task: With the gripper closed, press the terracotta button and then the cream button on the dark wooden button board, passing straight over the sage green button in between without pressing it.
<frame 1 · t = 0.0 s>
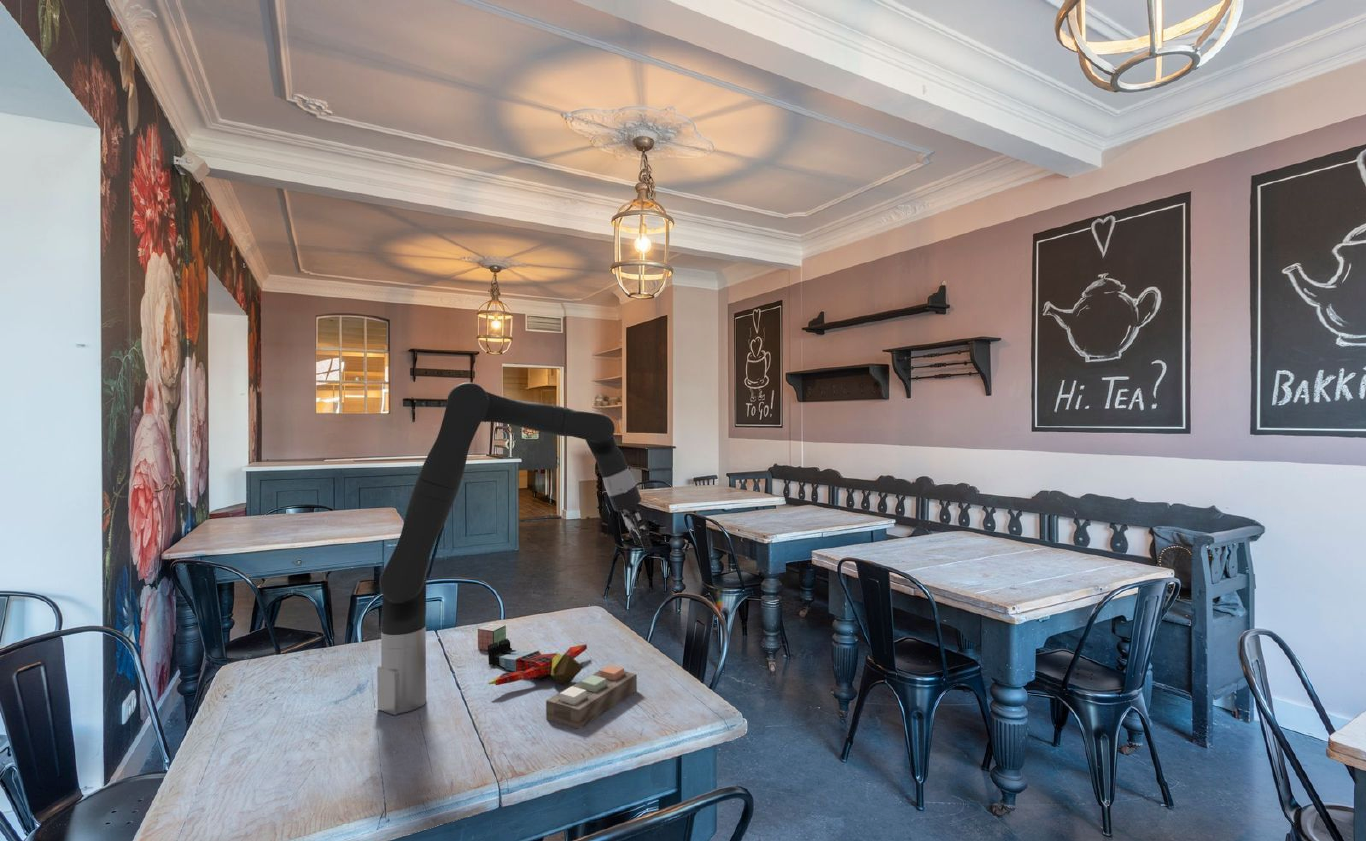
hand: (644, 546, 161), 31 cm above the table, tool tilted 20°, fingers open, 8 cm apart
toy: (534, 674, 159), on the table
sage button: (593, 686, 141), point 4 cm above the table, slide at 0.0 cm
button board: (593, 704, 141), on the table
cream button: (573, 698, 135), point 4 cm above the table, slide at 0.0 cm
terracotta button: (612, 675, 147), point 4 cm above the table, slide at 0.0 cm
puzzle toy: (492, 647, 179), on the table
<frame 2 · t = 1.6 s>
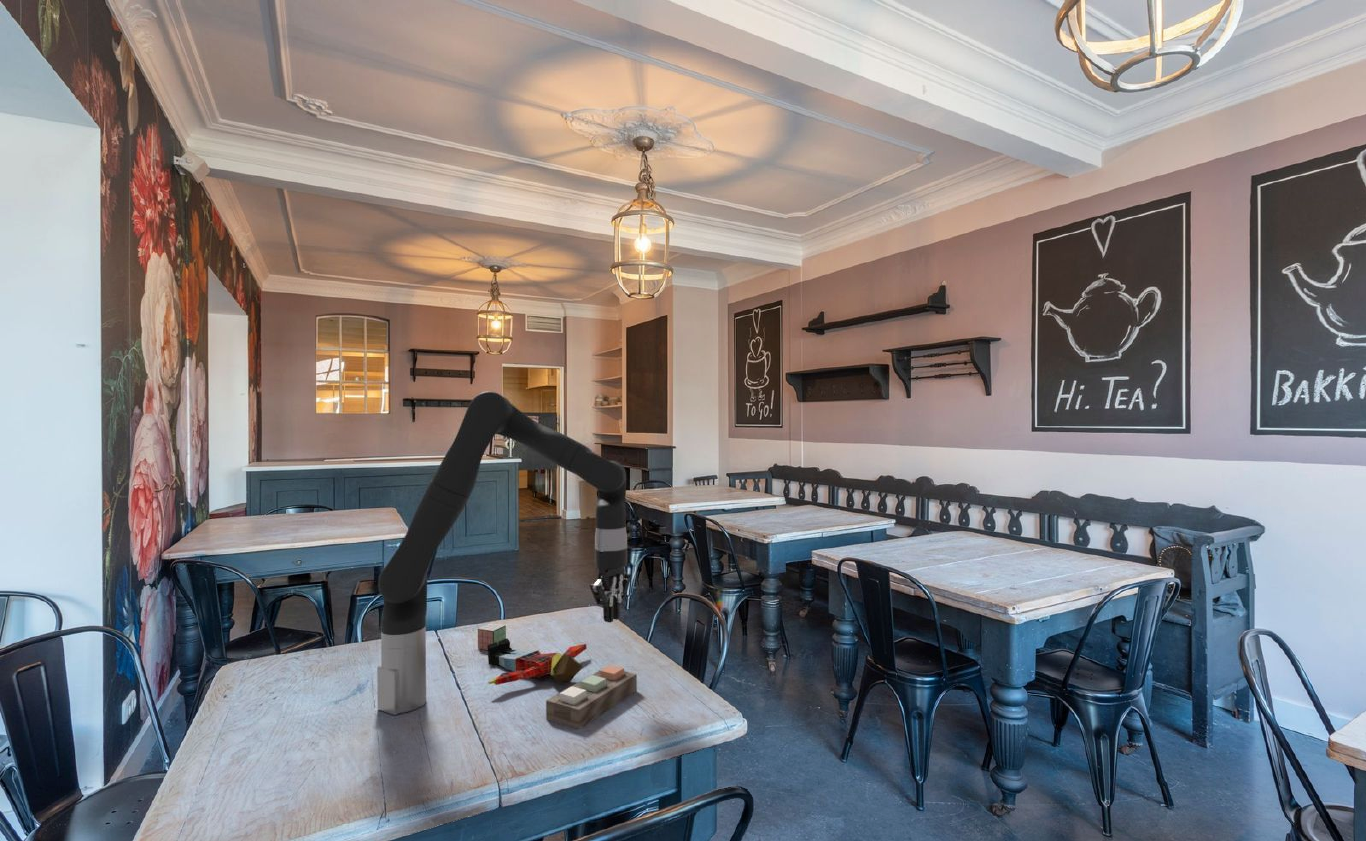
hand: (611, 619, 147), 17 cm above the table, tool pointing down, fingers closed
nothing on the table moved.
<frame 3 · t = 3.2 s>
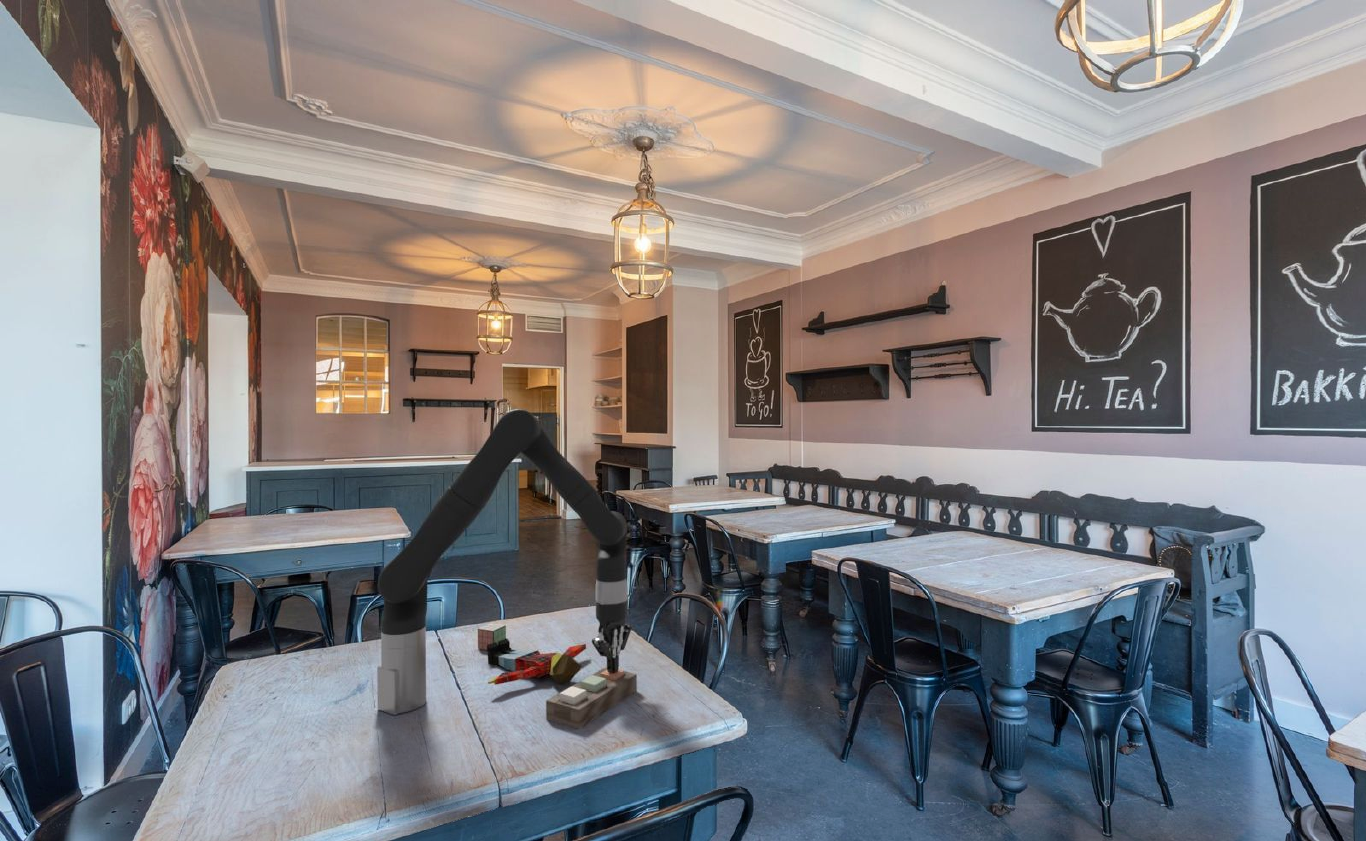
hand: (612, 671, 147), 5 cm above the table, tool pointing down, fingers closed
terracotta button: (612, 678, 147), point 3 cm above the table, slide at -0.7 cm, touching gripper
everything else where it was.
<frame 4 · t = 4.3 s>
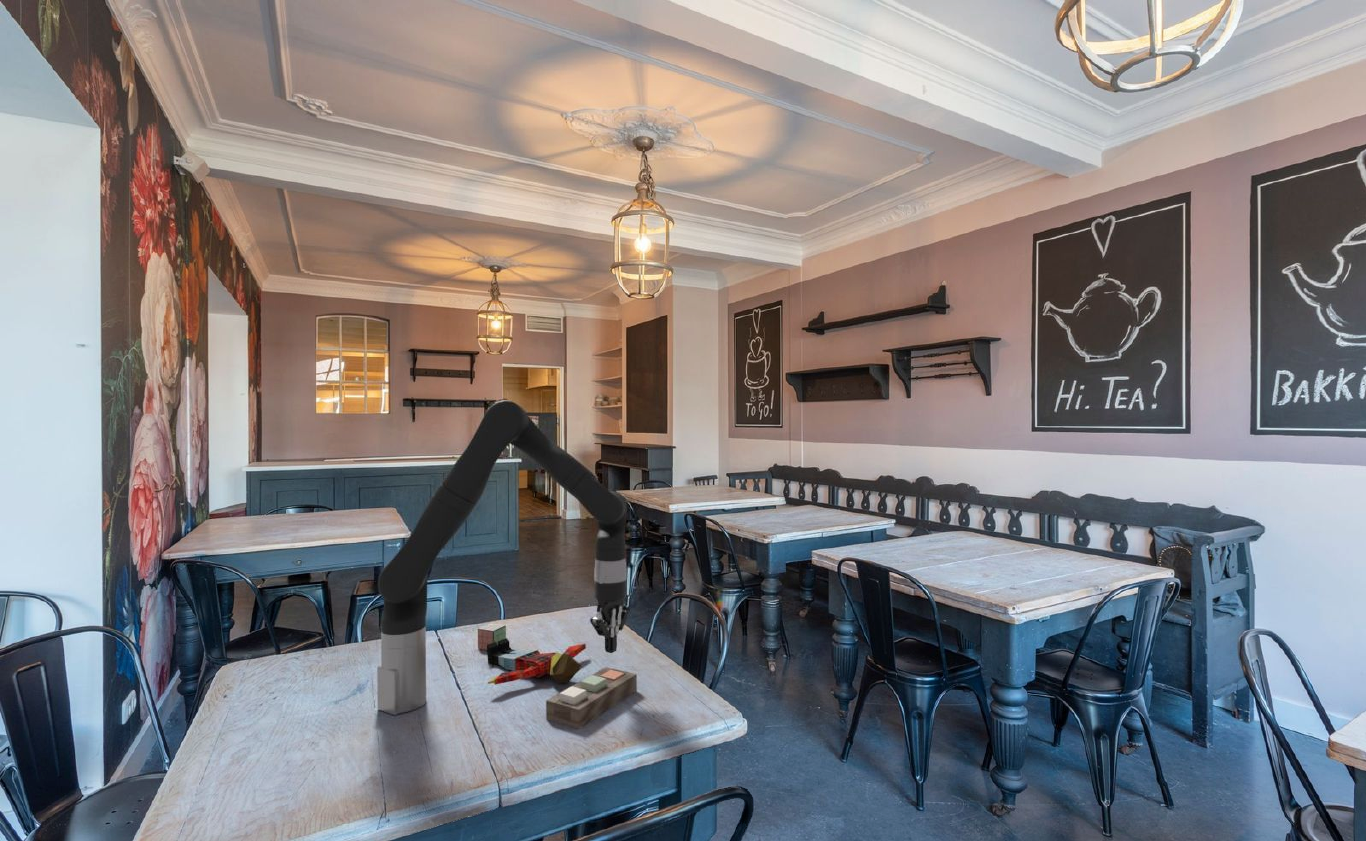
hand: (610, 651, 147), 10 cm above the table, tool pointing down, fingers closed
terracotta button: (612, 680, 147), point 3 cm above the table, slide at -1.2 cm
everything else where it was.
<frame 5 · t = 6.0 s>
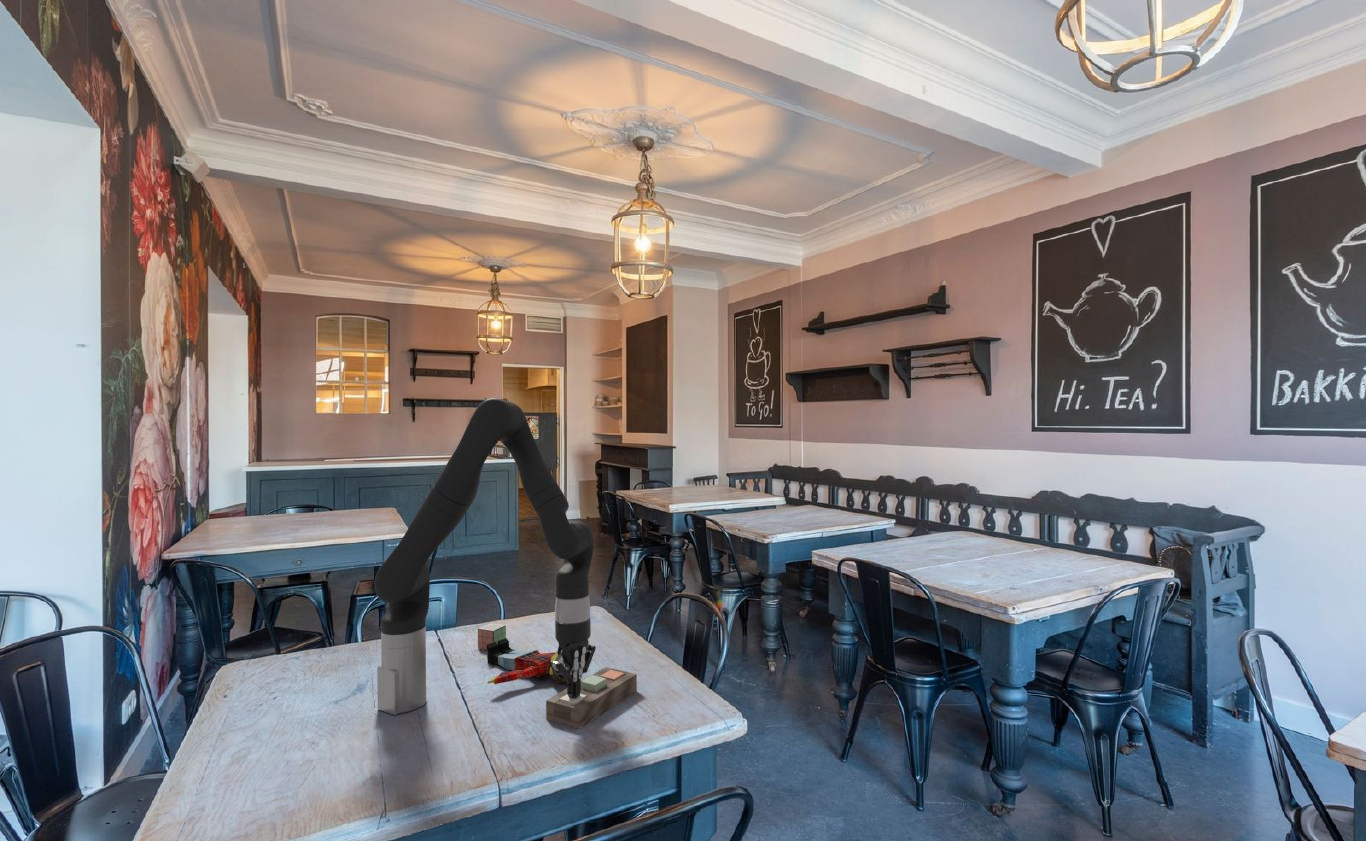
hand: (574, 696, 135), 4 cm above the table, tool pointing down, fingers closed
cream button: (573, 703, 135), point 3 cm above the table, slide at -1.2 cm, touching gripper
everything else where it was.
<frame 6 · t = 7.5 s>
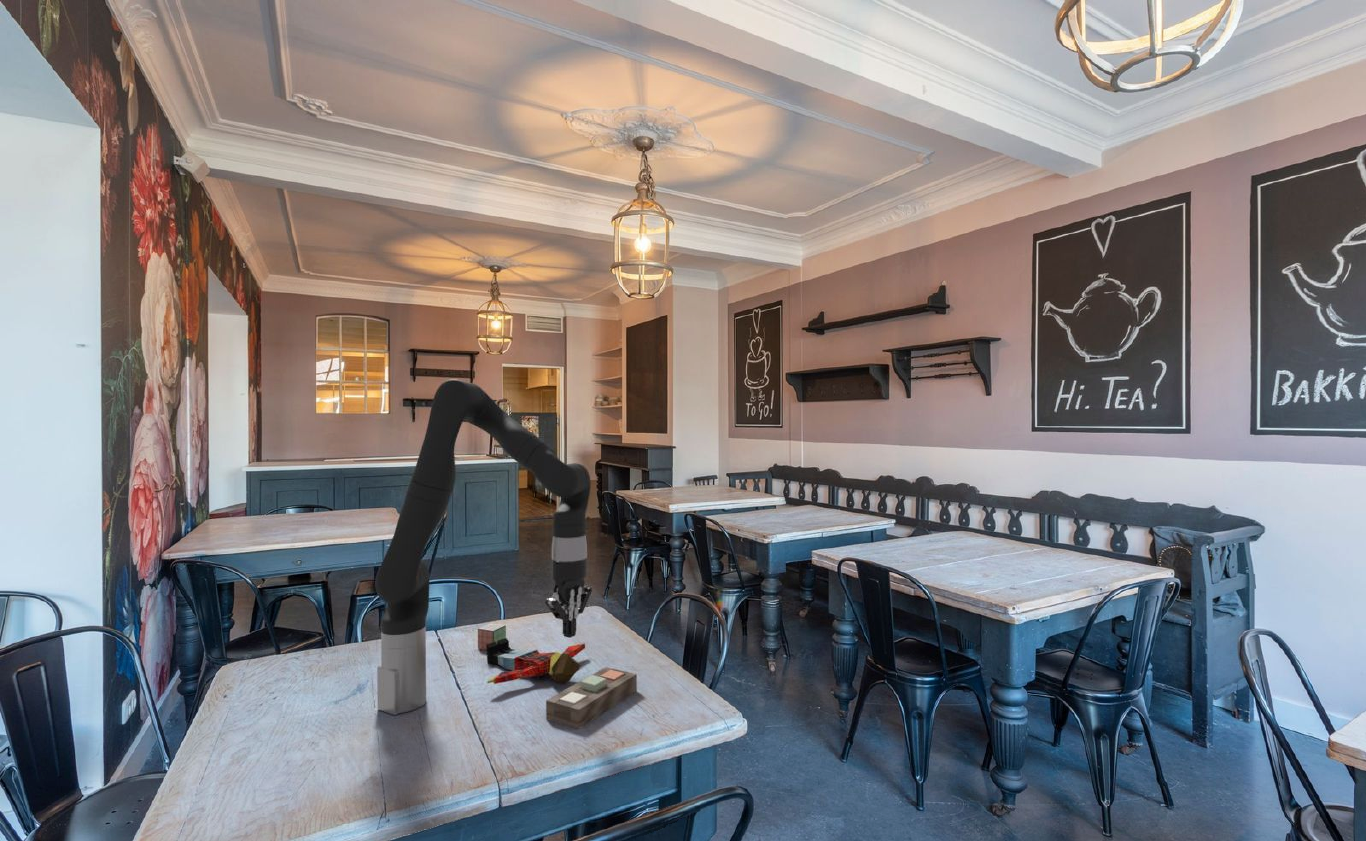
hand: (569, 636, 136), 17 cm above the table, tool pointing down, fingers closed
cream button: (573, 704, 135), point 3 cm above the table, slide at -1.2 cm
everything else where it was.
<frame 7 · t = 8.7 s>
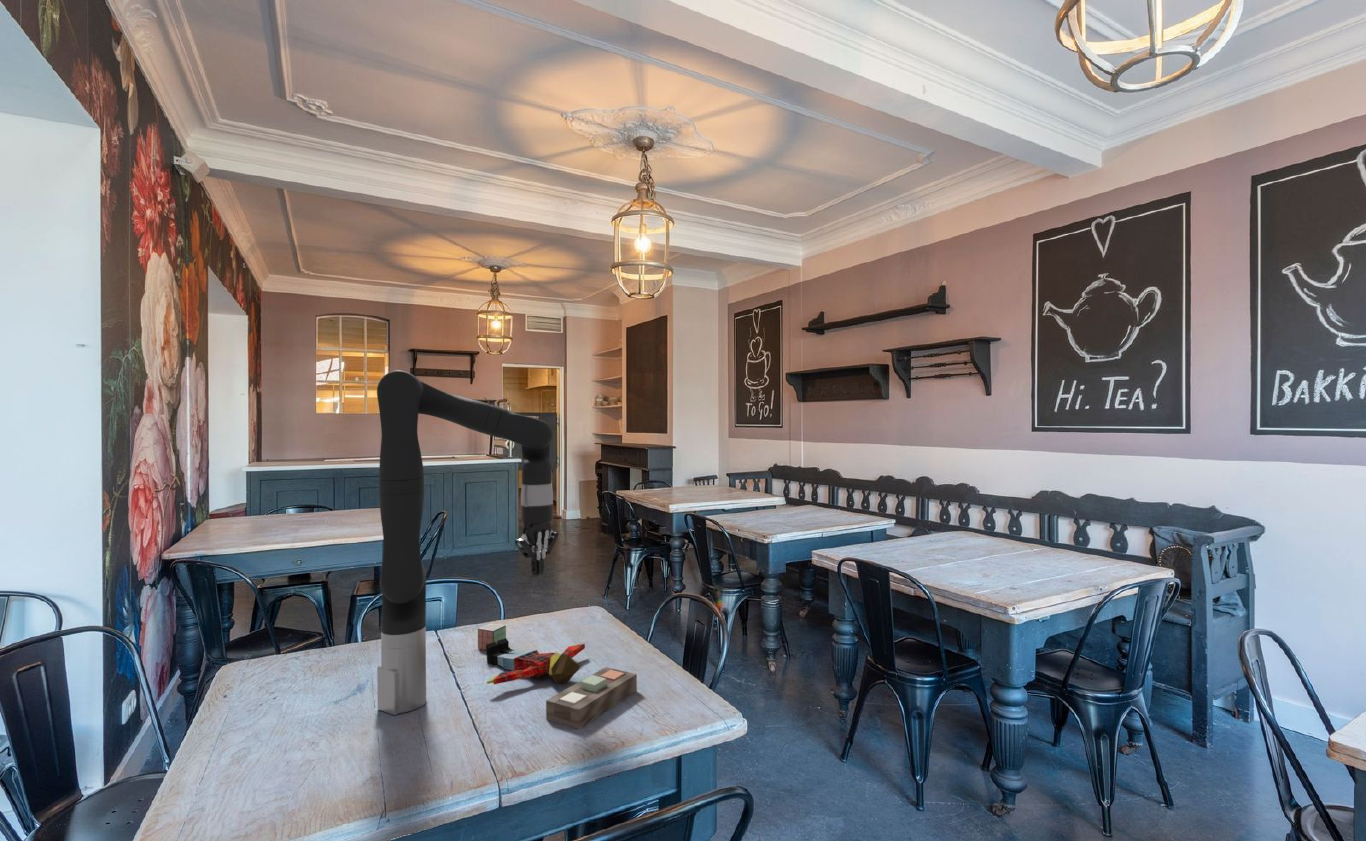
hand: (537, 574, 151), 27 cm above the table, tool pointing down, fingers closed
nothing on the table moved.
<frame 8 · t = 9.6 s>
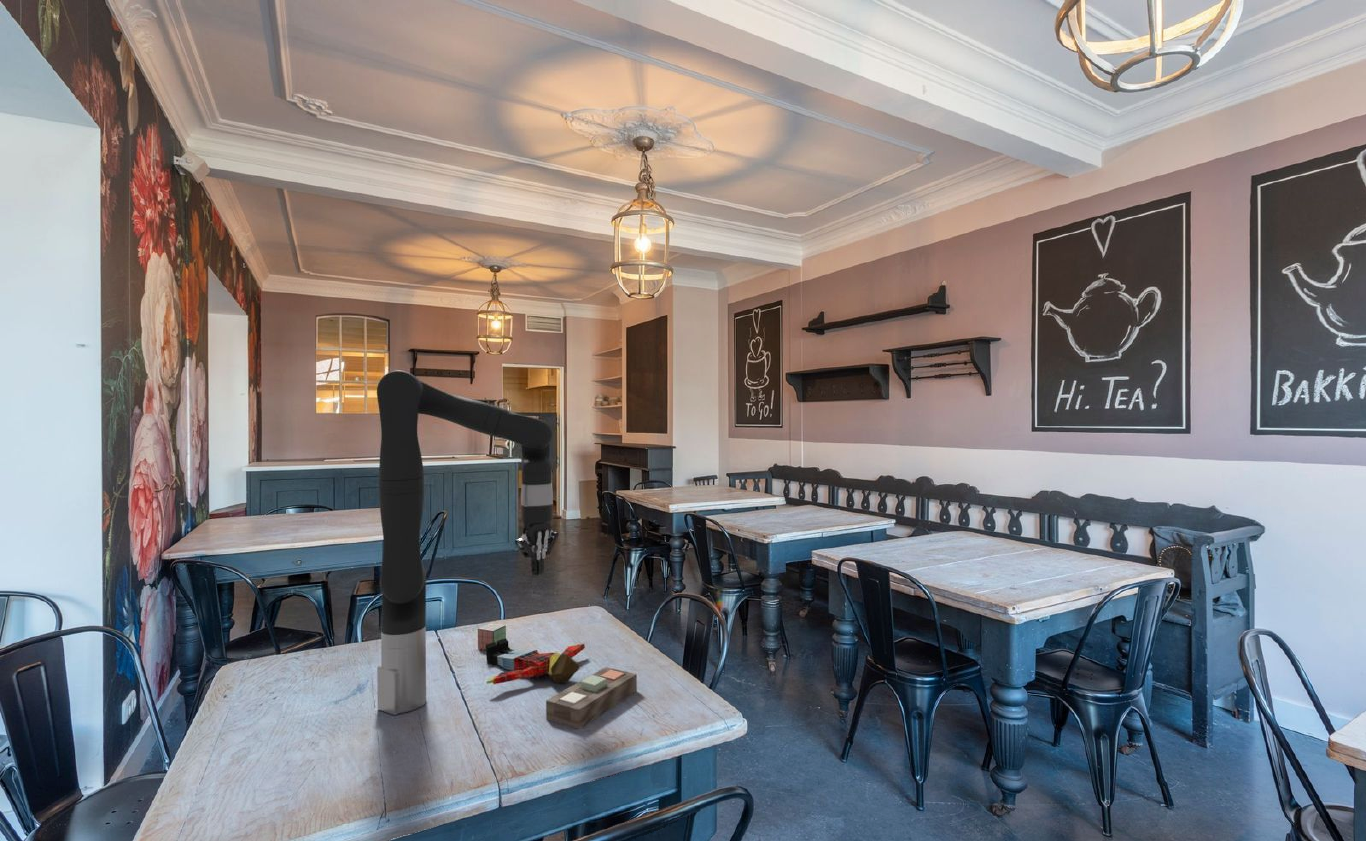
hand: (537, 574, 151), 27 cm above the table, tool pointing down, fingers closed
nothing on the table moved.
at the end: terracotta button slide at -1.2 cm; cream button slide at -1.2 cm; sage button slide at 0.0 cm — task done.
